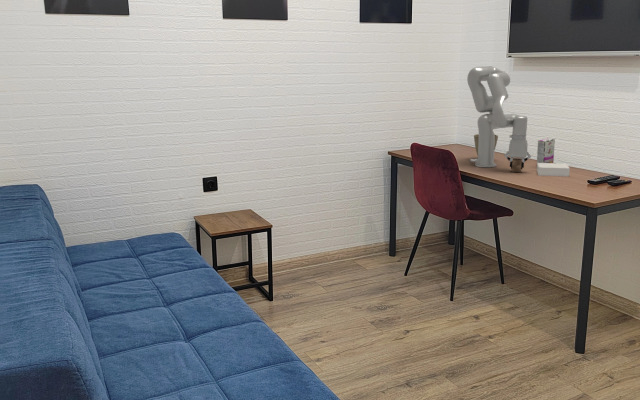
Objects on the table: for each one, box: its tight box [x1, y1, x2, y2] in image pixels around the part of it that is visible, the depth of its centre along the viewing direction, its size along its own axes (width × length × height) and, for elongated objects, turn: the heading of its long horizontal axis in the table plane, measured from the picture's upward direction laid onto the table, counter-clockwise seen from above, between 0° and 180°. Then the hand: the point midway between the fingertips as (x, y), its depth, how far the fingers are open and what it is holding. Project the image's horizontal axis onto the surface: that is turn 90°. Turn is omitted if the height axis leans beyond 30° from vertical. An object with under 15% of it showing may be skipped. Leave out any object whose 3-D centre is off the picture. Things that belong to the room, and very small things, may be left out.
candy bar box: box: [536, 138, 556, 164], centre depth 349 cm, size 11×5×16 cm, turn 129°
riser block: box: [536, 162, 571, 177], centre depth 331 cm, size 16×14×5 cm
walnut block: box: [511, 157, 522, 173], centre depth 338 cm, size 5×5×7 cm
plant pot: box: [473, 133, 499, 157], centre depth 375 cm, size 15×15×16 cm
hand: (516, 168), depth 338 cm, fingers closed on walnut block, 5 cm apart
